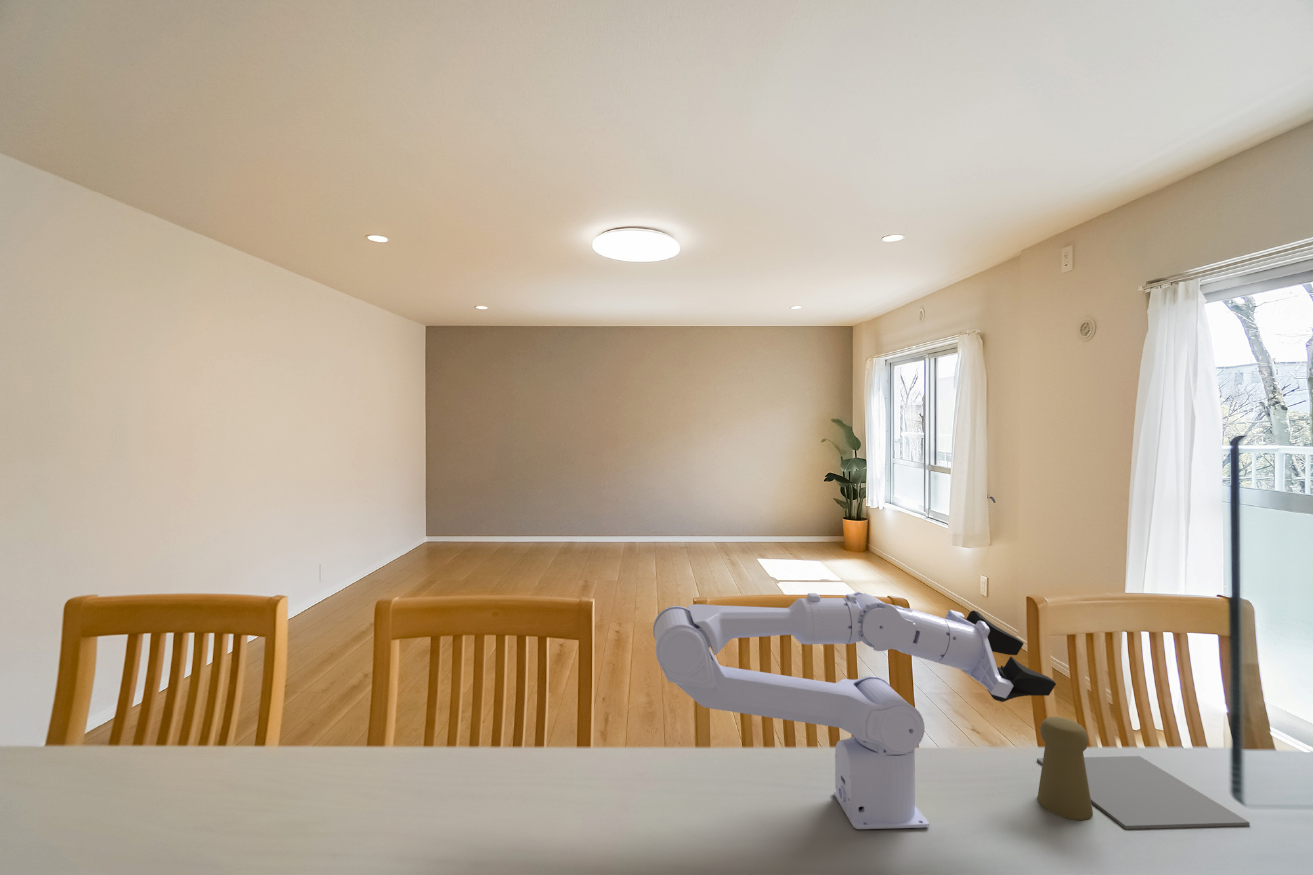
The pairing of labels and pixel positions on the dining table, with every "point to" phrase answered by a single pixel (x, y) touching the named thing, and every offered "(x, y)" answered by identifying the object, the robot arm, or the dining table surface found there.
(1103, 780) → the mat
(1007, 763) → the dining table surface
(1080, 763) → the cork
